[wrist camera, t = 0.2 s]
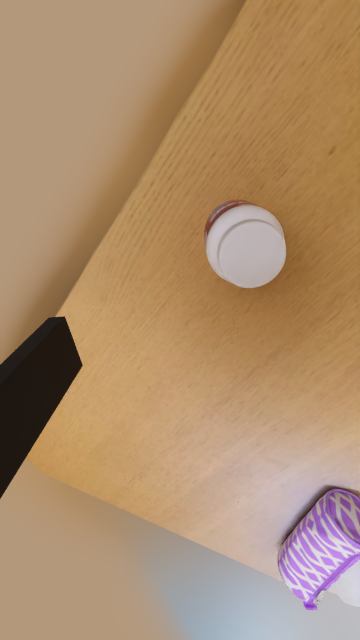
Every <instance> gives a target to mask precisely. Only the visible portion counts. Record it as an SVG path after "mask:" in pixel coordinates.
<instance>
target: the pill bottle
mask: <svg viewBox="0 0 360 640" xmlns="http://www.w3.org/2000/svg"><path fill="white" fill-rule="evenodd" d="M204 236H205V245H206V253H207V258H208V261H209V263H210V265H211V267H212V269H213V270H214V271H215V273H216V274H217V275H218V276H220V277H221V278H222V279H224V280H226V281H228V282H231V283H232V284H234V285H236V286H239V287H243V288H256V287H259V286H262V285H264V284H267V283H268V282H270V281H271V280H273V279H274V278H275V277H276V276H277V275H278V273H279V272H280V271H281V269H282V267H283V265H284V263H285V259H286V244H285V238H284V232H283V229H282V226H281V224H280V223H279V221H278V220H277V219H276V217H275V216H274V215H272V214H271V213H270V212H269V211H267V210H265V209H264V208H261V207H259V206H256V205H254V204H252V203H250V202H247V201H244V200H230V201H227V202H224V203H222V204H221V205H219V206H218V207H217V208H215V209H214V210H213V211H212V213H211V214H210V216H209V217H208V219H207V222H206V225H205V231H204Z"/></svg>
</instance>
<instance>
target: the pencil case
mask: <svg viewBox="0 0 360 640" xmlns="http://www.w3.org/2000/svg"><path fill="white" fill-rule="evenodd" d="M359 560H360V498H359V497H357V496H356V495H354V494H352V493H350V492H348V491H345V490H341V489H332V490H330V491H328V492H327V493H326V494H325V495H324V496H323V497H322V498H320V499H319V501H318V502H317V503H316V504H315V506H314V507H313V508H312V509H311V510H310V512H309V513H308V514H307V515H306V516H305V517H304V518H303V519H302V521H301V522H300V523H299V524H298V525H297V527H296V528H295V529H294V530H293V532H292V533H291V534H290V536H289V537H288V538H287V539H286V540H285V542H284V543H283V545H282V547H281V549H280V550H279V553H278V567H279V571H280V574H281V576H282V578H283V580H284V582H285V583H286V585H287V586H288V588H289V589H290V590H291V591H292V592H293V593H294V594H295V595H296V596H298V597H299V598H301V599H302V600H304V601H303V603H304V606H305V608H306V609H307V610H317V605H318V602H319V601H321V599H322V597H323V595H324V594H325V593H326V591H327V589H328V588H329V587H330V586H331V585H332V584H333V583H334V582H335V581H336V580H337V579H338V578H339V577H340V575H341V574H342V573H344V572H345V571H346V570H347V569H348V568H350V567H351V566H352V565H353V564H355V563H356V562H357V561H359Z"/></svg>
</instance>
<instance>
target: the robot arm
mask: <svg viewBox="0 0 360 640" xmlns="http://www.w3.org/2000/svg"><path fill="white" fill-rule="evenodd" d="M82 366H83V365H82V362H81V360H80V357H79V354H78V351H77V349H76V346H75V343H74V340H73V338H72V335H71V332H70V329H69V326H68V324H67V321H66V318H65V317H52V318H48V319H47V320H46V321H45V322H44V323H43V324H42V325H41V326H40V327H39V328H38V329H37V330H36V331H35V332H34V333H33V334H32V335H31V336H29V337H28V338H27V339H26V340H25V341H24V342H23V343H22V344H21V345H20V346H19V347H18V348H17V349H16V350H15V351H14V352H13V353H12V354H11V355H10V356H9V357H8V358H7V359H6V360H5V361H4V362H3V363H2V364H1V365H0V498H1V497H2V495H3V493H4V492H5V490H6V489H7V487H8V485H9V484H10V482H11V481H12V479H13V477H14V476H15V474H16V473H17V471H18V469H19V468H20V466H21V464H22V463H23V461H24V460H25V458H26V456H27V455H28V453H29V452H30V450H31V448H32V447H33V445H34V443H35V442H36V440H37V439H38V437H39V435H40V434H41V432H42V430H43V429H44V427H45V426H46V424H47V422H48V421H49V419H50V418H51V416H52V414H53V413H54V411H55V409H56V408H57V406H58V405H59V403H60V401H61V400H62V398H63V396H64V395H65V393H66V392H67V390H68V388H69V387H70V385H71V384H72V382H73V380H74V379H75V377H76V375H77V374H78V372H79V371H80V369H81V367H82Z"/></svg>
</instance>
